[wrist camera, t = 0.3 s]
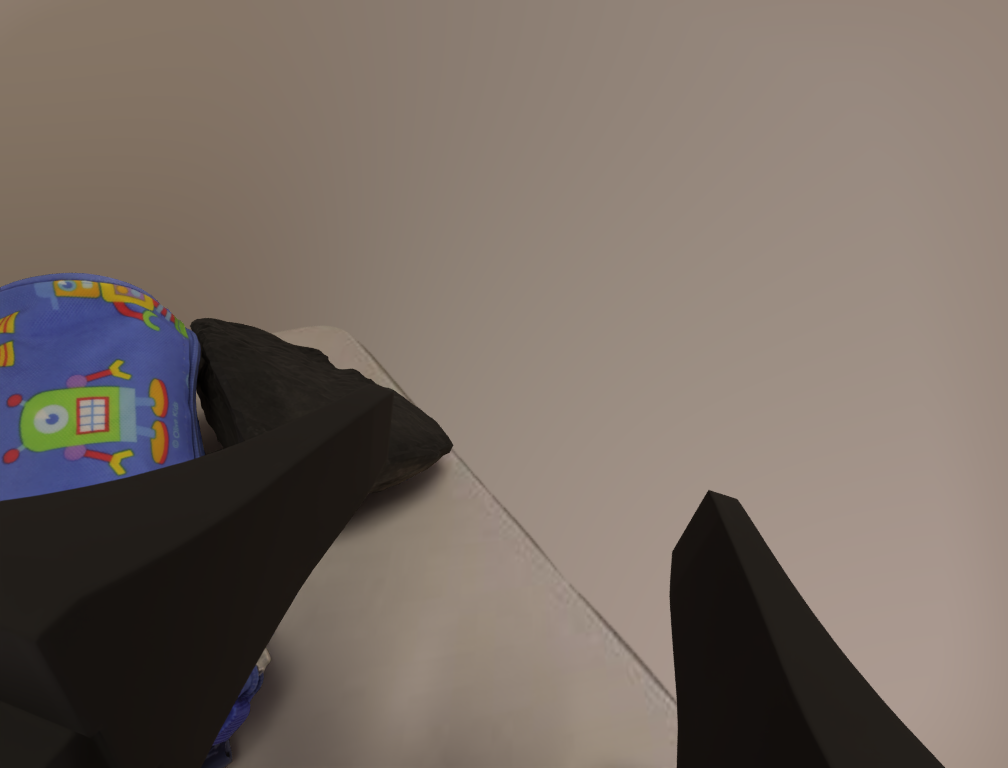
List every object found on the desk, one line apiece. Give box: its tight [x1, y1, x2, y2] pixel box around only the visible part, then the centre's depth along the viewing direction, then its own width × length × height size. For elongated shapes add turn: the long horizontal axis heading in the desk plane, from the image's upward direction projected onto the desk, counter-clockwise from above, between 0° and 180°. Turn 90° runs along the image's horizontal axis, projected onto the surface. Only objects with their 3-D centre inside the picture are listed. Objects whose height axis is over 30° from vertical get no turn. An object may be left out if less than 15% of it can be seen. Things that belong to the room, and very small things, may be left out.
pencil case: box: [0, 273, 271, 768], centre depth 22 cm, size 22×9×10 cm
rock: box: [190, 318, 453, 493], centre depth 32 cm, size 15×14×7 cm
